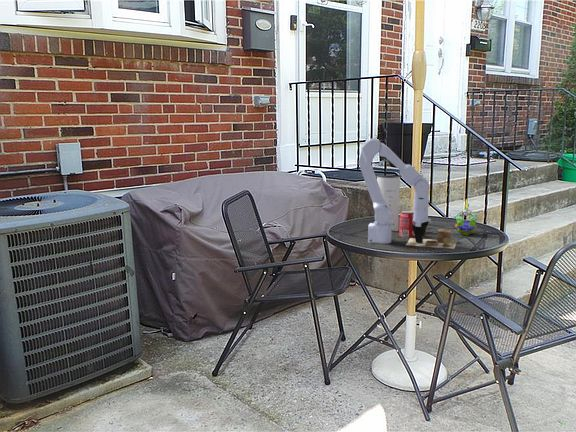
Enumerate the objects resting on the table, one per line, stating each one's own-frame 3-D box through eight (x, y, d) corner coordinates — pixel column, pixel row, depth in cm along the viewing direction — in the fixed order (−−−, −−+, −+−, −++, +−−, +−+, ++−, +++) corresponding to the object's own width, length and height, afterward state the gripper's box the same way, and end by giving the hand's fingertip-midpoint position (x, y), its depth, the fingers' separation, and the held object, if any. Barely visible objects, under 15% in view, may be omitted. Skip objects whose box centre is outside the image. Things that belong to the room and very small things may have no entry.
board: (405, 247, 210) (405, 237, 209) (410, 240, 222) (410, 231, 222) (454, 251, 203) (454, 241, 202) (456, 243, 216) (457, 233, 215)
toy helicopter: (455, 229, 243) (456, 198, 241) (475, 230, 241) (477, 199, 238) (454, 241, 220) (455, 207, 217) (476, 242, 217) (478, 208, 215)
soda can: (412, 236, 230) (413, 209, 228) (417, 239, 223) (418, 212, 221) (397, 236, 230) (397, 210, 228) (401, 240, 223) (401, 212, 221)
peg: (416, 243, 212) (416, 231, 212) (417, 242, 215) (417, 230, 214) (422, 243, 212) (422, 231, 211) (423, 242, 214) (423, 230, 213)
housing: (437, 242, 213) (437, 231, 213) (438, 239, 218) (438, 229, 217) (449, 243, 212) (450, 232, 211) (450, 240, 216) (451, 229, 215)
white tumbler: (397, 228, 246) (398, 174, 242) (400, 233, 236) (401, 176, 231) (375, 228, 247) (375, 174, 243) (376, 233, 237) (377, 176, 232)
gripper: (428, 211, 202) (427, 245, 205) (433, 205, 216) (431, 237, 218) (410, 210, 205) (409, 243, 207) (415, 204, 218) (414, 236, 221)
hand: (419, 240), depth 213 cm, fingers open, 6 cm apart
